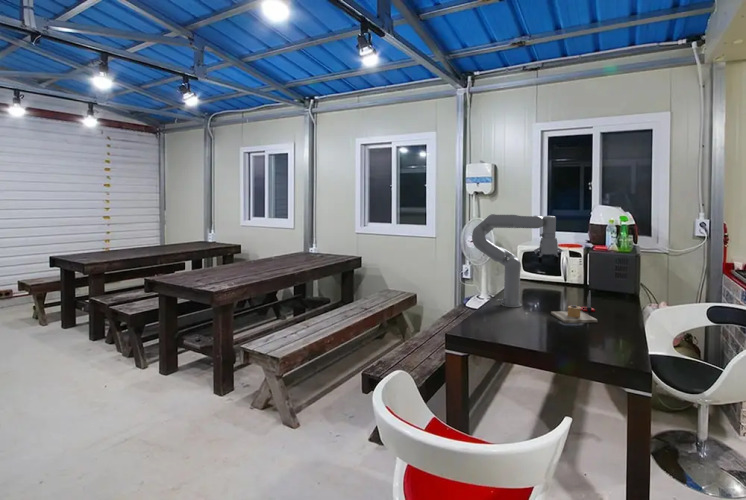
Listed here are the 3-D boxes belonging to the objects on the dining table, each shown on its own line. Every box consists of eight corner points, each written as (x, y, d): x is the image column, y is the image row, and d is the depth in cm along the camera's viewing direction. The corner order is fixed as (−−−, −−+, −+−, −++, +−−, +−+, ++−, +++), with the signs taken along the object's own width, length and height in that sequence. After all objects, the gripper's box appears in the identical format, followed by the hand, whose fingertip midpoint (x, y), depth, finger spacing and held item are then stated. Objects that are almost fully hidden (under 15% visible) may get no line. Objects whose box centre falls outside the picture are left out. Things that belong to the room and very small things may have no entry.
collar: (571, 317, 240) (571, 308, 239) (565, 314, 246) (565, 305, 245) (582, 316, 240) (582, 308, 239) (576, 313, 246) (577, 305, 246)
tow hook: (577, 308, 266) (582, 311, 256) (577, 288, 265) (582, 290, 255) (591, 308, 264) (596, 312, 255) (592, 288, 263) (597, 291, 254)
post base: (565, 322, 234) (565, 309, 233) (550, 314, 252) (551, 301, 251) (597, 322, 234) (598, 309, 233) (580, 313, 252) (581, 301, 251)
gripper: (537, 236, 258) (536, 264, 260) (565, 236, 259) (564, 263, 261) (532, 235, 266) (531, 262, 268) (559, 235, 266) (558, 261, 268)
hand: (547, 263), depth 264 cm, fingers open, 9 cm apart
